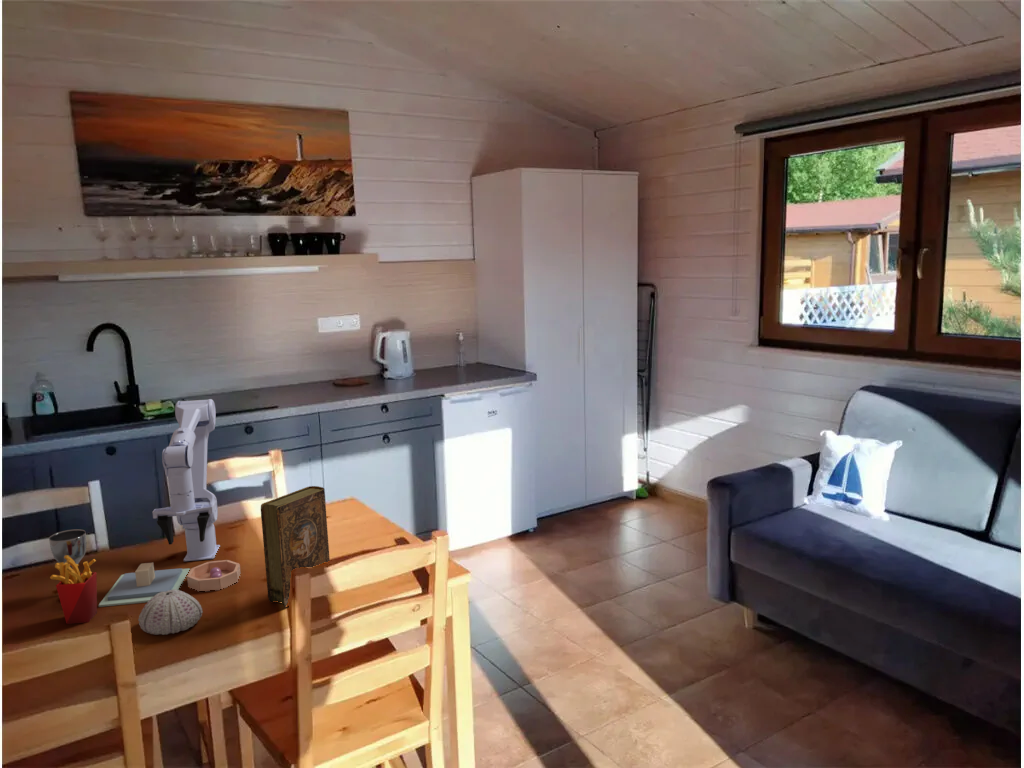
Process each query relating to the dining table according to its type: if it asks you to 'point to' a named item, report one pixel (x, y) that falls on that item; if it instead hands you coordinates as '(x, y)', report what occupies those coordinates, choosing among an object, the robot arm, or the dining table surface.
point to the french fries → (77, 591)
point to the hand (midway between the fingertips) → (186, 541)
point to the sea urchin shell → (170, 613)
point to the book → (293, 537)
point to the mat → (141, 599)
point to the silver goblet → (68, 545)
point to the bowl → (213, 575)
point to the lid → (145, 582)
